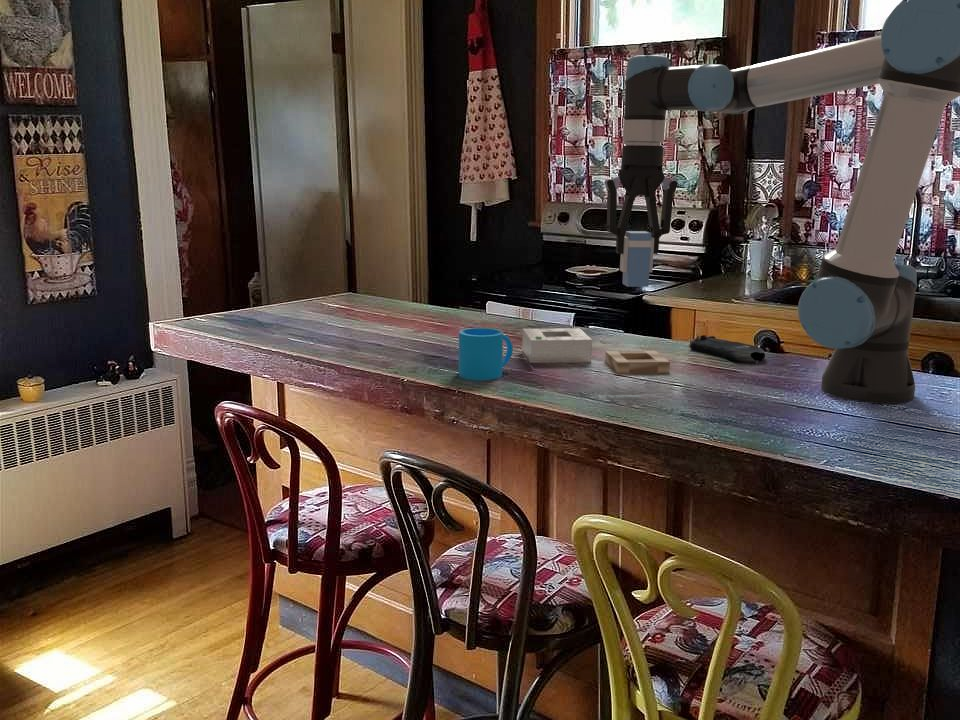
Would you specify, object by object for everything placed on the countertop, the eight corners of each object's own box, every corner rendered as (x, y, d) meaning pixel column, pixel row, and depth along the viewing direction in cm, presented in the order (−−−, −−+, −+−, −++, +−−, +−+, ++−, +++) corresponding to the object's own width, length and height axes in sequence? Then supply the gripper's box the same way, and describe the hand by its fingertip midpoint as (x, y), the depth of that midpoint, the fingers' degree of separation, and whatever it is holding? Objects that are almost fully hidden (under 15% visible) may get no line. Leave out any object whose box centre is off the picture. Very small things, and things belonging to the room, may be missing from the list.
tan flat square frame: (669, 374, 172) (670, 361, 172) (617, 375, 171) (617, 362, 171) (654, 362, 182) (655, 350, 182) (604, 363, 181) (605, 351, 181)
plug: (648, 286, 172) (651, 233, 170) (627, 286, 172) (630, 233, 169) (642, 283, 176) (645, 231, 174) (622, 283, 176) (624, 231, 173)
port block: (591, 364, 180) (592, 337, 179) (530, 365, 179) (531, 338, 177) (578, 351, 191) (579, 326, 190) (522, 352, 190) (522, 326, 189)
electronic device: (686, 361, 192) (746, 364, 180) (686, 334, 192) (747, 335, 180) (713, 361, 198) (774, 364, 186) (714, 335, 198) (775, 336, 186)
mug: (478, 382, 165) (479, 338, 163) (449, 374, 171) (449, 331, 169) (526, 372, 173) (527, 330, 171) (497, 365, 179) (497, 324, 177)
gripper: (682, 145, 172) (674, 269, 178) (592, 143, 171) (587, 268, 176) (695, 145, 165) (686, 274, 170) (601, 143, 163) (595, 273, 169)
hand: (635, 271), depth 173 cm, fingers closed on plug, 4 cm apart
